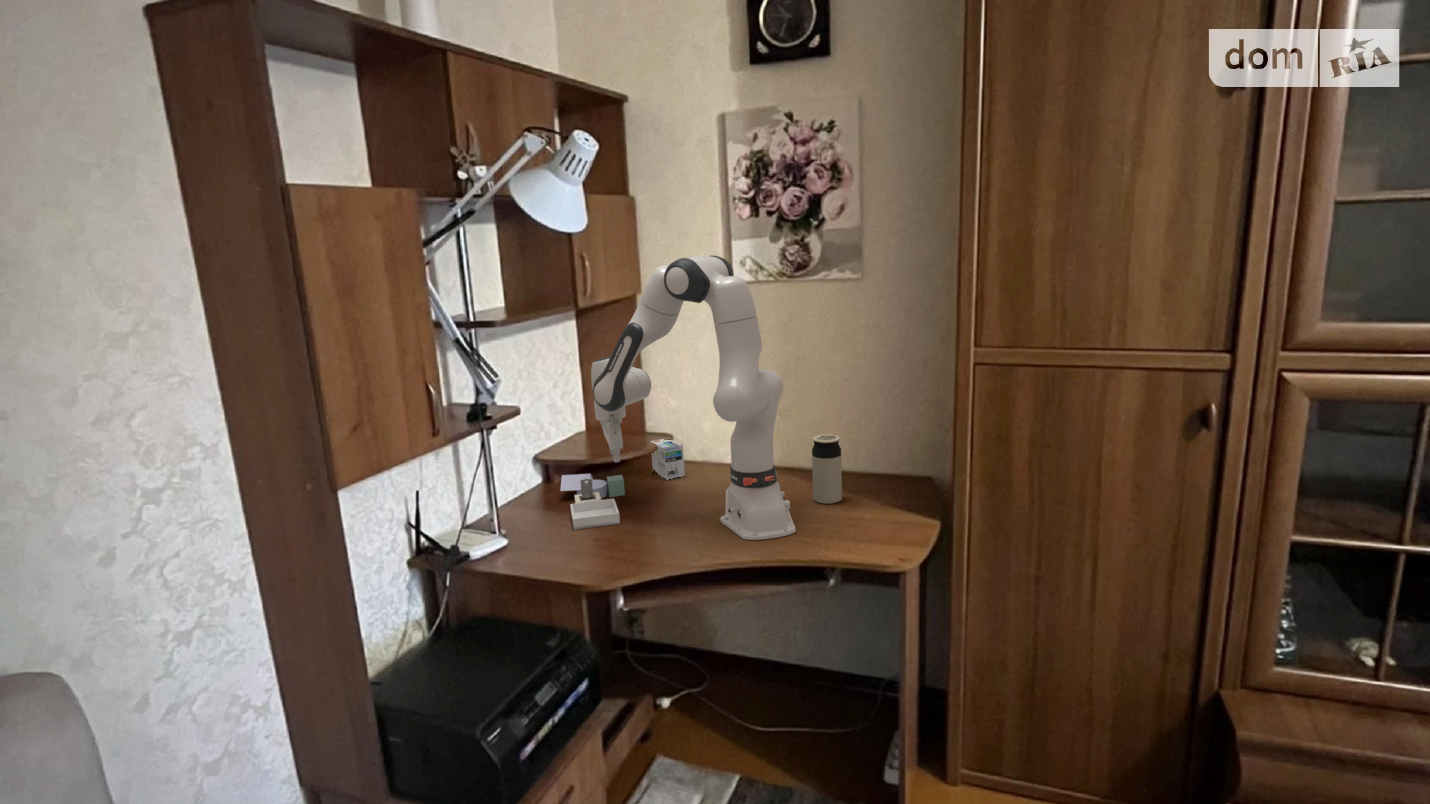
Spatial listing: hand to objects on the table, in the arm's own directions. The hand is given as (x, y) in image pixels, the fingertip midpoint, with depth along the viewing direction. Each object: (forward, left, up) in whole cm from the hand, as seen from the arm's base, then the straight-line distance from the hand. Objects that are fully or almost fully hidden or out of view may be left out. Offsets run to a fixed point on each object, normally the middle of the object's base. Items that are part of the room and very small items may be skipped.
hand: (615, 457), depth 229 cm
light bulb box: (+12, -18, -12) cm, 24 cm away
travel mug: (-28, -56, -12) cm, 63 cm away
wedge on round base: (+2, +9, -12) cm, 15 cm away
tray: (-19, +8, -11) cm, 23 cm away
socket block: (-9, +9, -11) cm, 17 cm away
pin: (-9, +9, -11) cm, 17 cm away
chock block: (0, 0, -11) cm, 11 cm away
